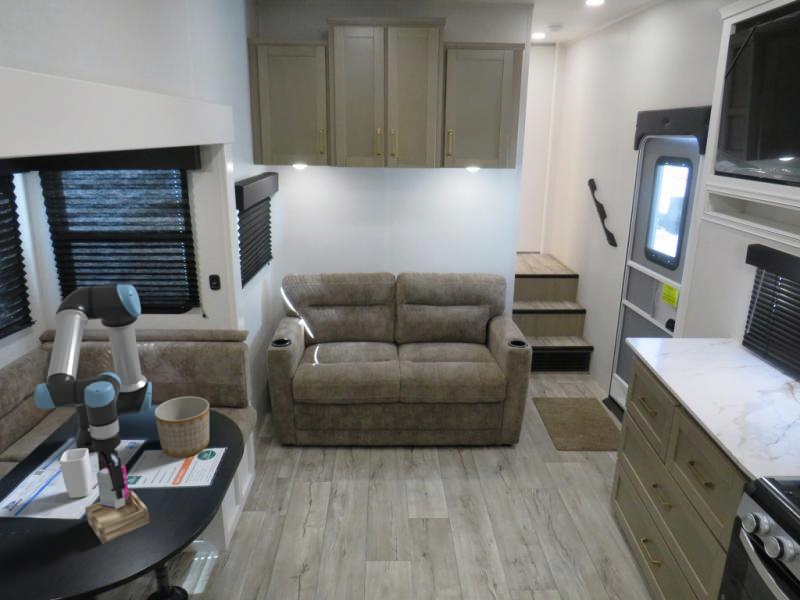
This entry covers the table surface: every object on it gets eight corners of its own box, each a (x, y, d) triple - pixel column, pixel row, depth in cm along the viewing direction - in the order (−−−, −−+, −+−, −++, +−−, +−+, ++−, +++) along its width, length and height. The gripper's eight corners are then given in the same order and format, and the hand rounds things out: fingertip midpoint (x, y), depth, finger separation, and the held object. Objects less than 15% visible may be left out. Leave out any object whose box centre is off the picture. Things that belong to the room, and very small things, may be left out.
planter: (190, 465, 199) (186, 424, 195) (147, 454, 205) (142, 415, 200) (222, 438, 217) (219, 401, 212) (182, 429, 223) (178, 392, 218)
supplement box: (117, 509, 164) (112, 476, 161) (100, 506, 165) (94, 473, 162) (130, 497, 170) (125, 465, 166) (113, 494, 171) (108, 462, 168)
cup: (95, 485, 187) (89, 447, 182) (90, 498, 180) (83, 459, 176) (71, 488, 185) (64, 450, 180) (65, 502, 178) (58, 462, 174)
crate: (87, 521, 170) (85, 507, 168) (132, 501, 179) (131, 488, 178) (102, 544, 161) (100, 529, 159) (149, 522, 170) (147, 508, 168)
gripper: (80, 425, 165) (90, 489, 172) (103, 452, 151) (114, 521, 158) (106, 416, 170) (116, 480, 177) (131, 442, 156) (140, 510, 163)
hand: (115, 499), depth 167 cm, fingers closed on supplement box, 8 cm apart
